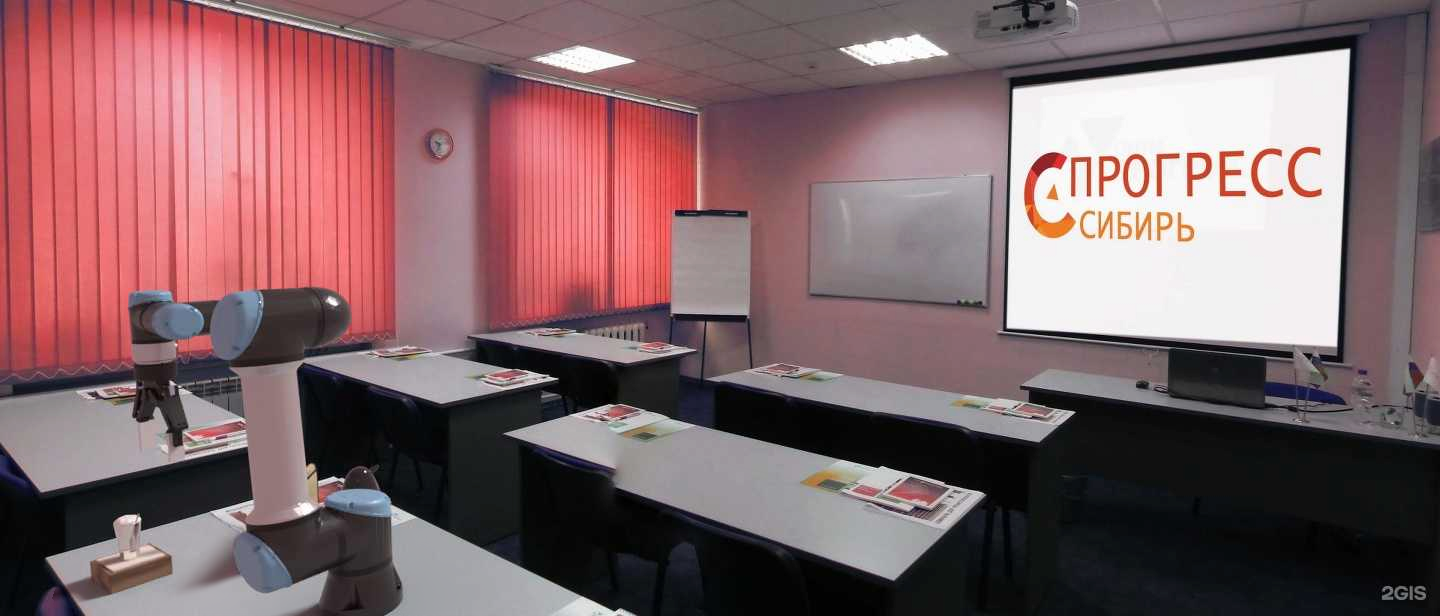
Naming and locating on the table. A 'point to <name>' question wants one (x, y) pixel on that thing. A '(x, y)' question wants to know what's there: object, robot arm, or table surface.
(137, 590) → the table surface
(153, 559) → the dock
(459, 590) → the table surface
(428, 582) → the table surface
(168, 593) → the table surface
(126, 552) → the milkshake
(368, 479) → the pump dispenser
